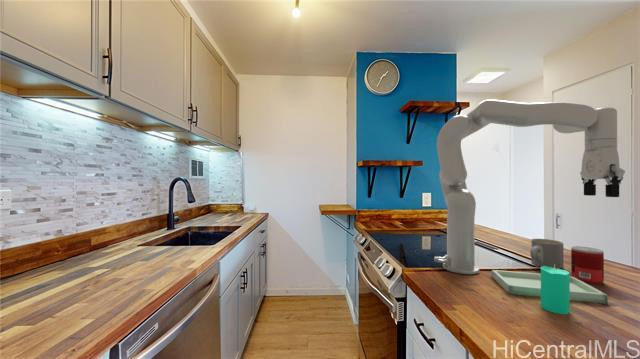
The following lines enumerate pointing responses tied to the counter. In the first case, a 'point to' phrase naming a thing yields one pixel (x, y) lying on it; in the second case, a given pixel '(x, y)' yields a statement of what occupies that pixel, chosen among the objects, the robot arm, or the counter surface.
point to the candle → (555, 290)
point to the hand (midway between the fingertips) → (600, 196)
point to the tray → (532, 286)
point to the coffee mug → (547, 253)
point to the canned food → (587, 264)
